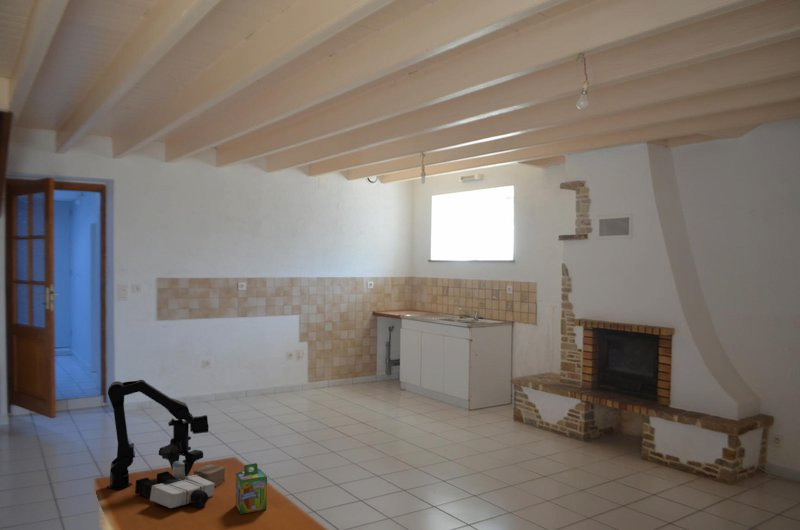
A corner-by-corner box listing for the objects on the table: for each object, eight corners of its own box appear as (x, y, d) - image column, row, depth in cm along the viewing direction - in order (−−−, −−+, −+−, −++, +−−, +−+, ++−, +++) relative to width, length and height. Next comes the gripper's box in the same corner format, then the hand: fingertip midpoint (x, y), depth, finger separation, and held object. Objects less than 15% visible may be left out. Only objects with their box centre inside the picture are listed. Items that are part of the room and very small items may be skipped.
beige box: (193, 486, 221) (193, 470, 221) (208, 479, 229) (208, 464, 229) (210, 489, 218) (210, 473, 218) (225, 482, 226) (225, 467, 226)
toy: (127, 497, 210) (179, 518, 193) (128, 477, 210) (181, 497, 194) (173, 484, 226) (225, 502, 209) (174, 466, 226) (226, 483, 210)
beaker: (168, 479, 229) (168, 463, 229) (181, 474, 234) (181, 459, 234) (180, 481, 226) (180, 466, 226) (192, 476, 232) (192, 461, 232)
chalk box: (240, 515, 196) (240, 471, 196) (234, 505, 204) (235, 463, 204) (267, 509, 200) (267, 466, 200) (261, 500, 208) (261, 459, 208)
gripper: (147, 437, 227) (147, 477, 227) (182, 444, 219) (182, 485, 219) (170, 430, 237) (169, 468, 237) (204, 436, 229) (204, 475, 229)
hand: (180, 474), depth 230 cm, fingers closed on beaker, 6 cm apart
